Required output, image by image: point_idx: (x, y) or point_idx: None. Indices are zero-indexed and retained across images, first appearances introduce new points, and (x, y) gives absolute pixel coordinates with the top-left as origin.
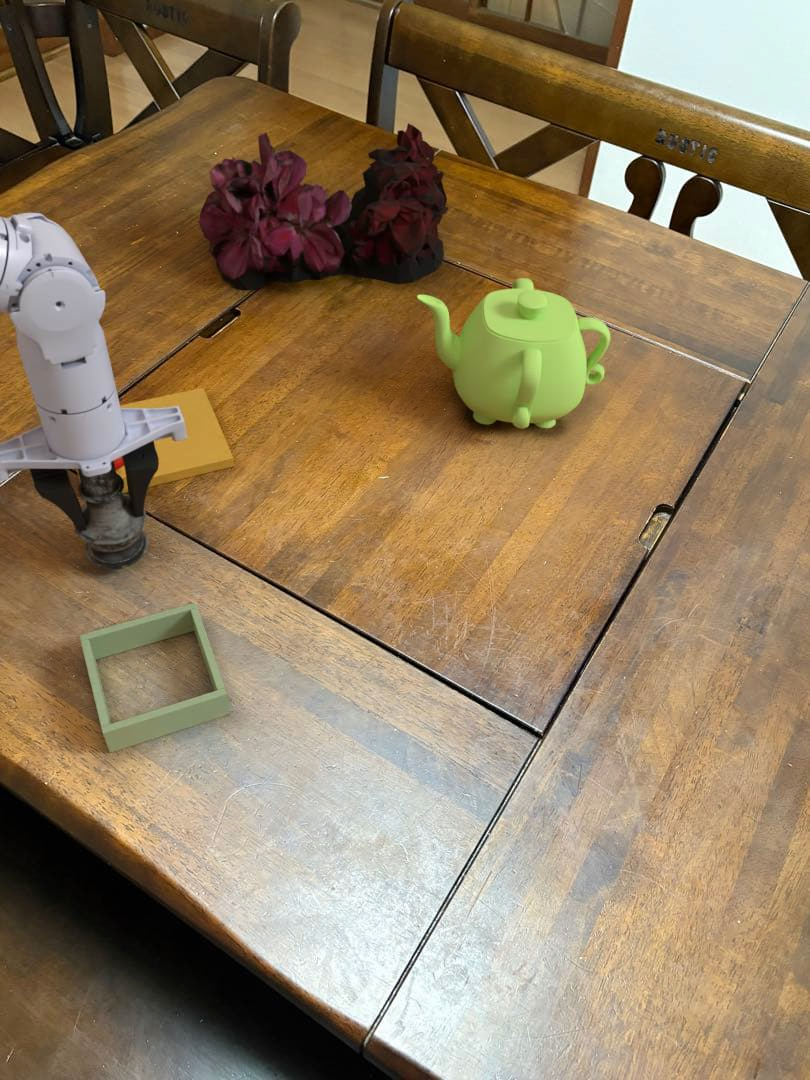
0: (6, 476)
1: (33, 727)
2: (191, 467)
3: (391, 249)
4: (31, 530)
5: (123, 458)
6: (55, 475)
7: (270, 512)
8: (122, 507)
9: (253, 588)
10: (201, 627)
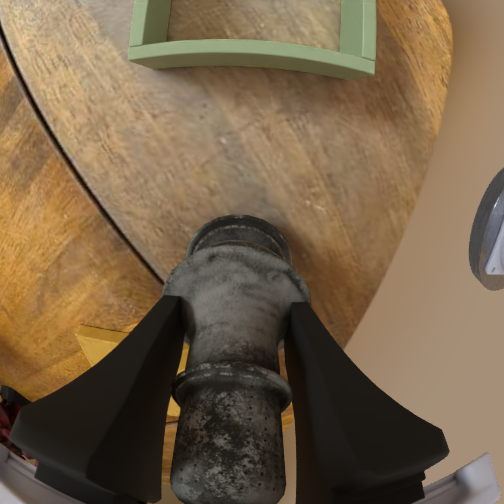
0: (473, 472)
1: (430, 29)
2: (118, 343)
3: (13, 411)
4: (332, 327)
5: (146, 456)
6: (369, 488)
7: (40, 247)
8: (197, 328)
9: (66, 121)
10: (138, 2)
